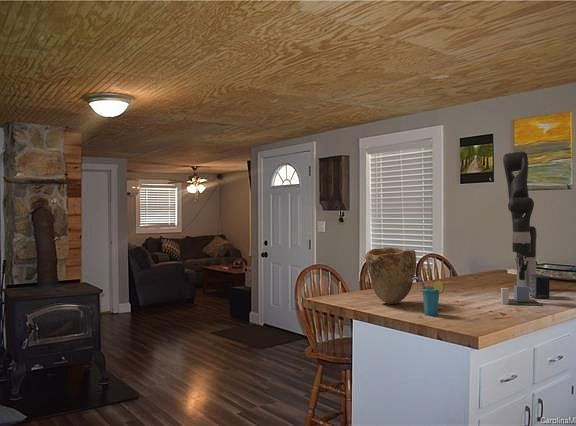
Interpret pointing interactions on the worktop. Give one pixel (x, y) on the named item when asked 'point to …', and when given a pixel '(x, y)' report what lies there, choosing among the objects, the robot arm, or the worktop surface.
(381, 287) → the bowl
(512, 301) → the dark grey square tray
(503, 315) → the worktop surface
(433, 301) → the cup
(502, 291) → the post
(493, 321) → the worktop surface
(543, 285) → the small box
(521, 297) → the blue-grey block
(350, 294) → the worktop surface
